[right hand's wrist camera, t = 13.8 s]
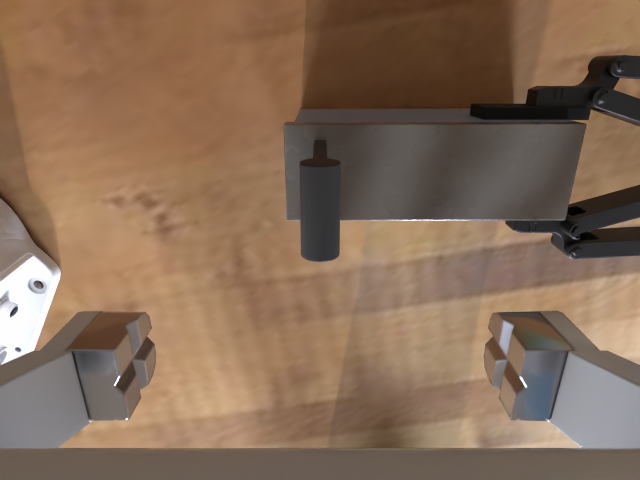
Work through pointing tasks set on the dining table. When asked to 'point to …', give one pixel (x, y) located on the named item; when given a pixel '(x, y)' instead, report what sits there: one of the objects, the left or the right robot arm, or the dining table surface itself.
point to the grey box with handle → (425, 173)
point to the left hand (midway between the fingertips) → (471, 162)
